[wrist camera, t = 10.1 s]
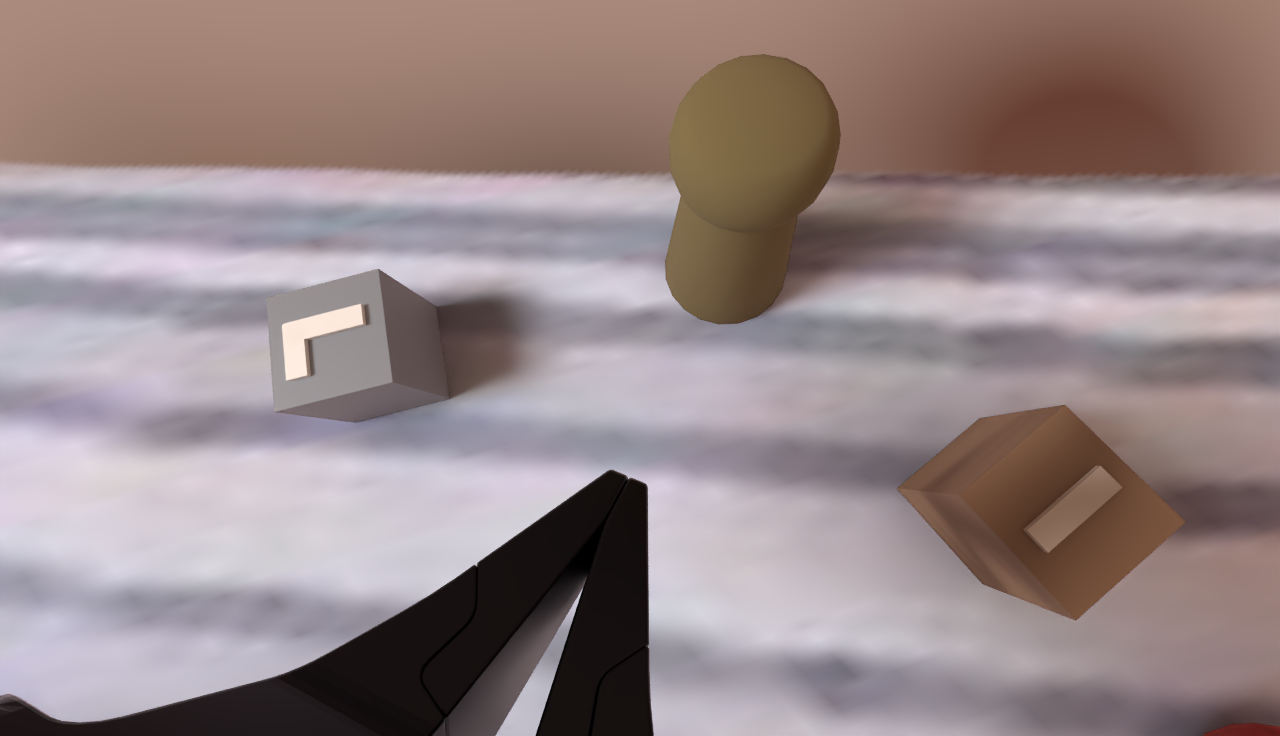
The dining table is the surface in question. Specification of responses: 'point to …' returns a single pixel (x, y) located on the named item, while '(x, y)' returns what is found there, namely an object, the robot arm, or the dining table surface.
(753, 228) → the cork
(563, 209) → the dining table surface
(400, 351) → the slate marked block
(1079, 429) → the walnut marked block
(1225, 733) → the onion
